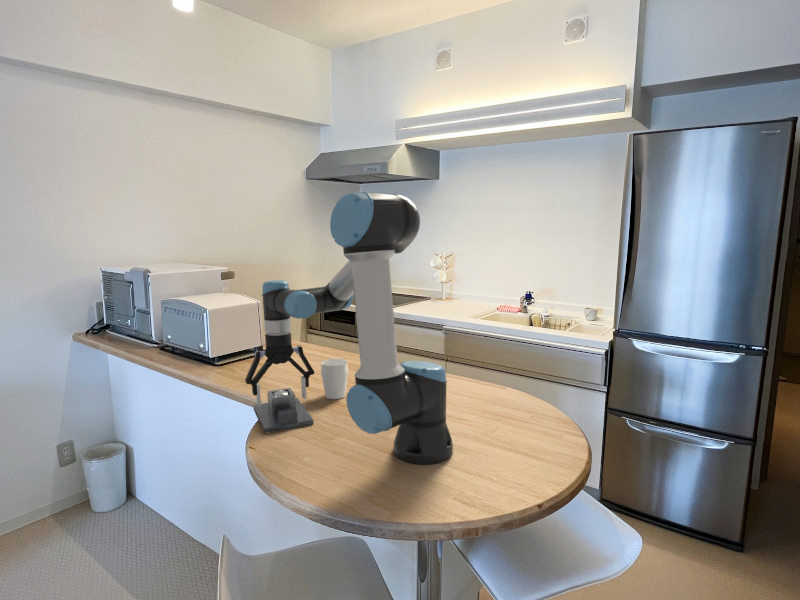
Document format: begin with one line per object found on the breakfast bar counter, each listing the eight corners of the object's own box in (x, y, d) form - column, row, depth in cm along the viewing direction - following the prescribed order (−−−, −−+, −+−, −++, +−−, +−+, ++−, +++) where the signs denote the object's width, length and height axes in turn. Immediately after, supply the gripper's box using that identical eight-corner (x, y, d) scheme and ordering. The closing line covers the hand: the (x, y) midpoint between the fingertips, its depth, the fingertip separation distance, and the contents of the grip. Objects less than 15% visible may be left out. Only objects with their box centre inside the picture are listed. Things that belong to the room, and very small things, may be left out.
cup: (343, 401, 160) (342, 366, 158) (318, 400, 161) (316, 365, 159) (352, 392, 168) (351, 359, 166) (327, 390, 170) (326, 357, 168)
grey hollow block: (296, 413, 146) (295, 394, 145) (272, 418, 143) (271, 398, 142) (290, 406, 152) (290, 387, 151) (268, 410, 149) (267, 391, 148)
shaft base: (313, 424, 141) (312, 399, 140) (264, 433, 136) (263, 408, 134) (297, 402, 159) (296, 380, 158) (253, 409, 154) (252, 386, 152)
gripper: (315, 326, 152) (318, 391, 155) (232, 334, 142) (237, 404, 145) (322, 330, 145) (325, 398, 148) (235, 339, 135) (240, 412, 138)
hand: (281, 401), depth 147 cm, fingers open, 13 cm apart
